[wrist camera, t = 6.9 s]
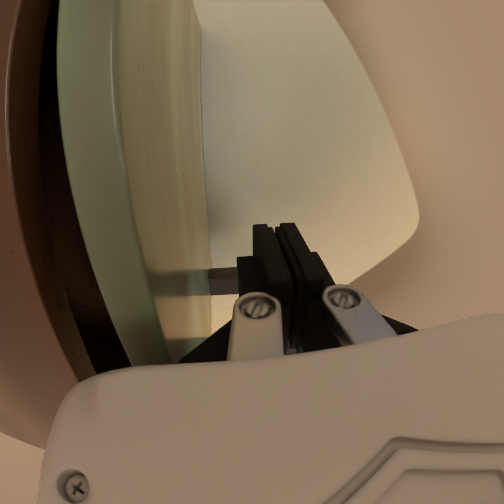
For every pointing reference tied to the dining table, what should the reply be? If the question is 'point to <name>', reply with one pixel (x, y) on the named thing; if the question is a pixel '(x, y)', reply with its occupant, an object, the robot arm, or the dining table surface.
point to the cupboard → (41, 239)
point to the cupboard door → (140, 169)
